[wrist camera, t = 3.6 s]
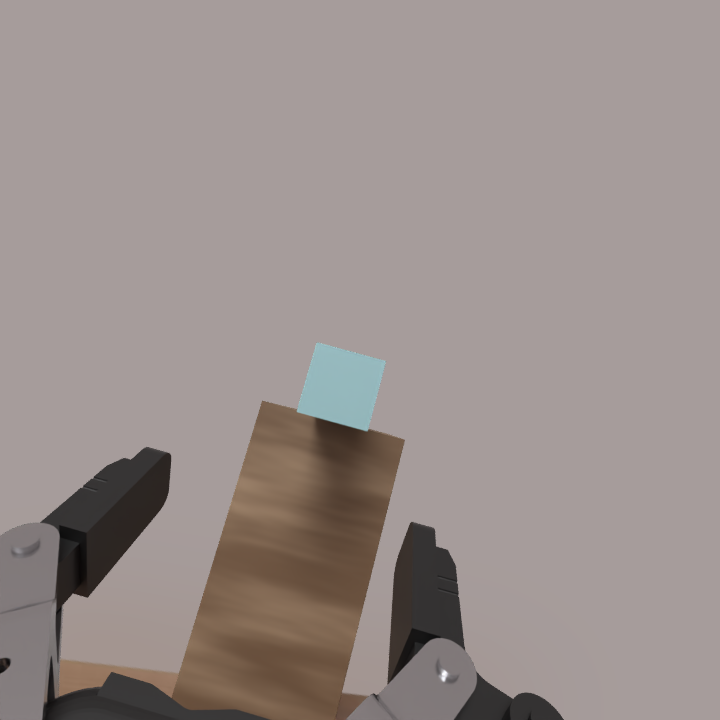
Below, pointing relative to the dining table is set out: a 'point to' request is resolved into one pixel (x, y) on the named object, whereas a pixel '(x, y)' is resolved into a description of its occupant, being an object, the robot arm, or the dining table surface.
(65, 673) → the dining table surface
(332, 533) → the pedestal
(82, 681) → the dining table surface
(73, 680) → the dining table surface
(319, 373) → the rail
